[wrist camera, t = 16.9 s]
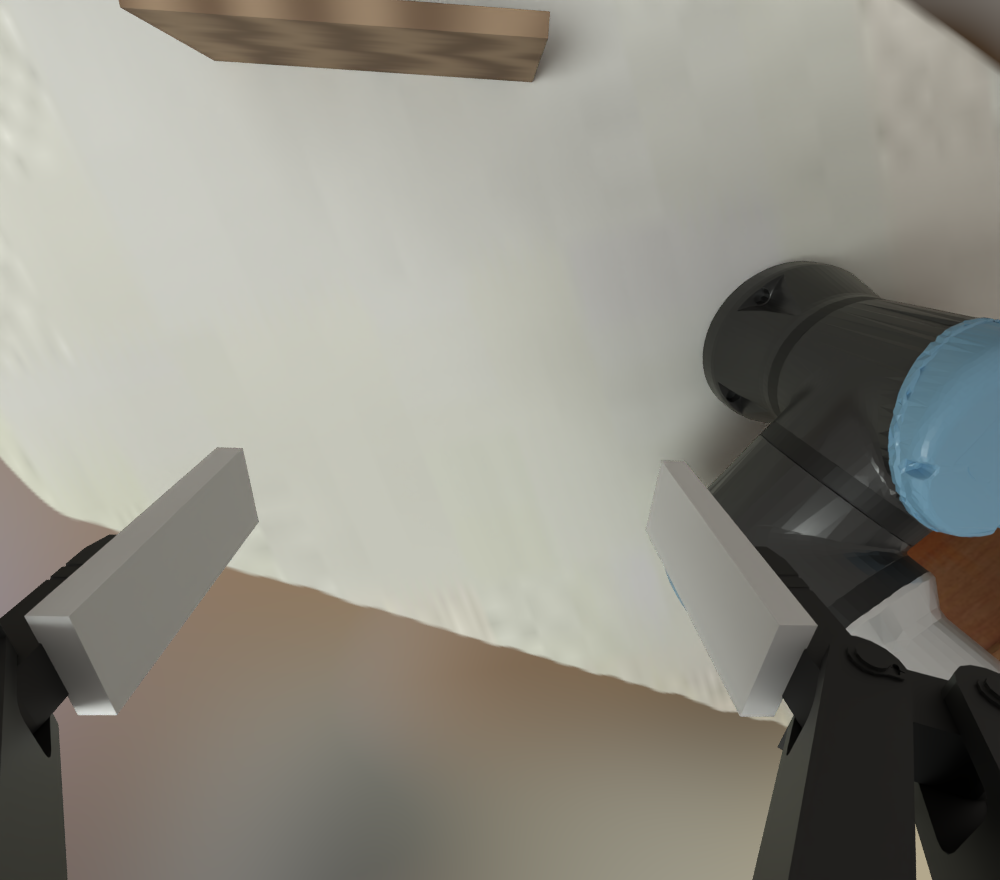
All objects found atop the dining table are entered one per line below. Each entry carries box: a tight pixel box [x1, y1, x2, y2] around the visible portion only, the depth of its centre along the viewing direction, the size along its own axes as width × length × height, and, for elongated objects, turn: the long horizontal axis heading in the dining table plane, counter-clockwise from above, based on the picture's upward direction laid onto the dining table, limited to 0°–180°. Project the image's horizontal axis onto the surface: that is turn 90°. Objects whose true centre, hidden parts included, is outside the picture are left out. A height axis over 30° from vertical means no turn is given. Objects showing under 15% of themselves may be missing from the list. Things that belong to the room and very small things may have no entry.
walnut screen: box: [119, 0, 550, 82], centre depth 31 cm, size 24×1×10 cm, turn 87°
